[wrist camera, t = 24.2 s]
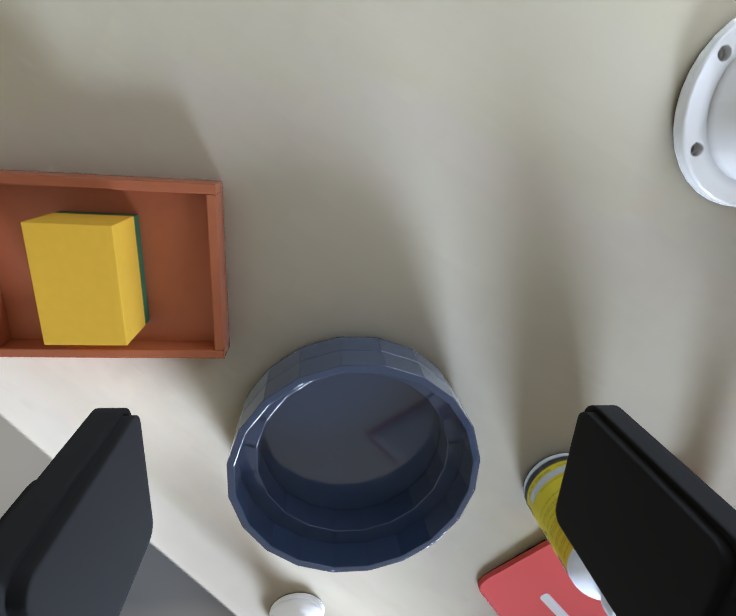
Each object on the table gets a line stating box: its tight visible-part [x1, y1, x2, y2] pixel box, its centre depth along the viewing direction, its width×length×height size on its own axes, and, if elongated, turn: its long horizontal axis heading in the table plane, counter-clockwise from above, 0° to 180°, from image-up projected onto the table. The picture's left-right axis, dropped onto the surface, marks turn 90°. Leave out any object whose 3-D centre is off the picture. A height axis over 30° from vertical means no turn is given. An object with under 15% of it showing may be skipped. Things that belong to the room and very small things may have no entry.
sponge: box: [21, 211, 150, 345], centre depth 27 cm, size 7×4×4 cm, turn 176°
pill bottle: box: [524, 453, 616, 616], centre depth 34 cm, size 6×6×12 cm
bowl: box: [227, 337, 480, 572], centre depth 34 cm, size 17×17×5 cm
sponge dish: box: [0, 170, 229, 358], centre depth 29 cm, size 11×14×2 cm
